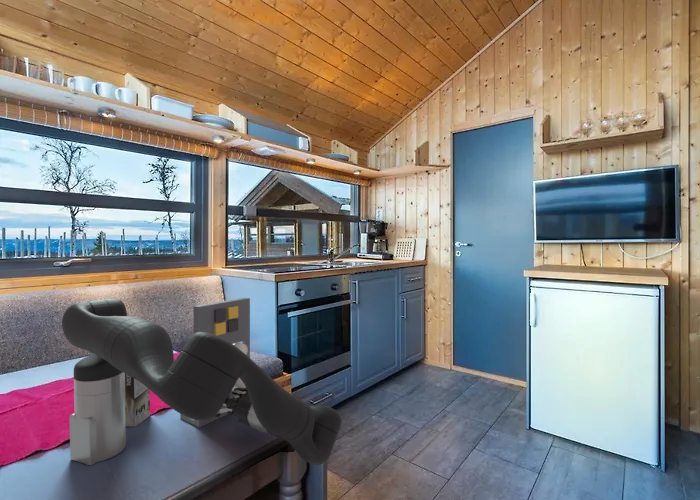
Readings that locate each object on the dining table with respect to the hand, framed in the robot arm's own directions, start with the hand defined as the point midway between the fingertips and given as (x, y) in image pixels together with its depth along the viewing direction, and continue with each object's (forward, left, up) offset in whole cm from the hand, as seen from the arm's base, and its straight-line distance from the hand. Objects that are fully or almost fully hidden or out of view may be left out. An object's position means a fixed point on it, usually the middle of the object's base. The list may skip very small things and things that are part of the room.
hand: (214, 392), depth 93 cm
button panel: (+6, +4, -8) cm, 10 cm away
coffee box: (-6, +22, -8) cm, 25 cm away
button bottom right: (+9, -1, -2) cm, 9 cm away
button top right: (+9, 0, +6) cm, 11 cm away
